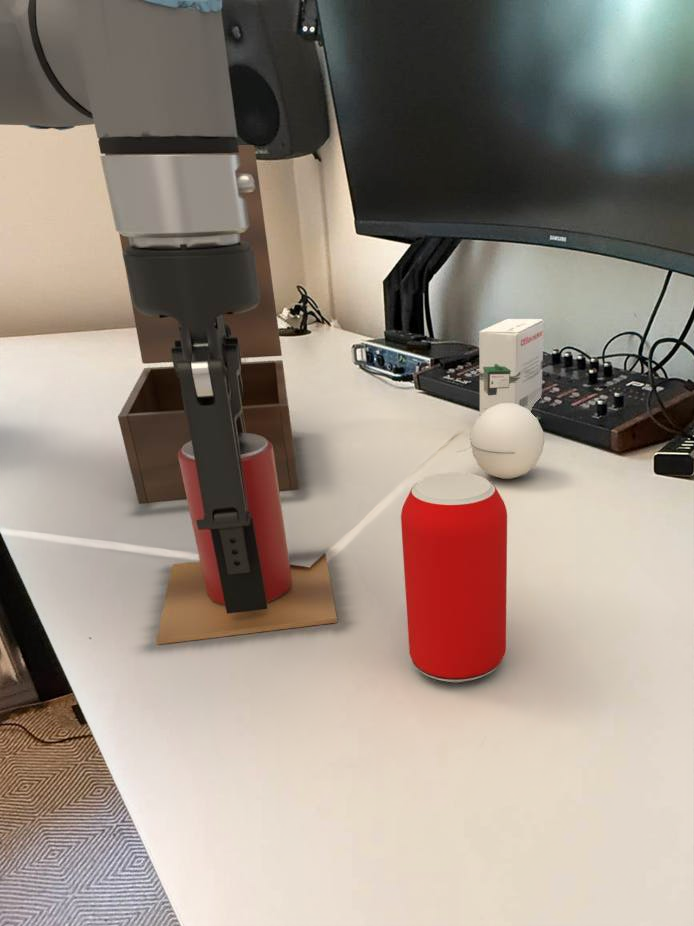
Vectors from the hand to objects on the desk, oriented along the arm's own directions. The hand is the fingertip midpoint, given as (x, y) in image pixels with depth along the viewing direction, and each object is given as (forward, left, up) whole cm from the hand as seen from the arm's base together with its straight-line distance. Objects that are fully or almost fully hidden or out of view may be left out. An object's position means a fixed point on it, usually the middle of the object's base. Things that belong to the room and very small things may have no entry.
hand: (247, 580), depth 59 cm
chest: (-17, +24, -1) cm, 29 cm away
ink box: (+8, +47, -1) cm, 48 cm away
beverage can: (+18, -5, -1) cm, 19 cm away
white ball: (+11, +29, -1) cm, 31 cm away
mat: (0, 0, -1) cm, 1 cm away
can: (0, 0, -1) cm, 1 cm away
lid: (-23, +34, +18) cm, 45 cm away
